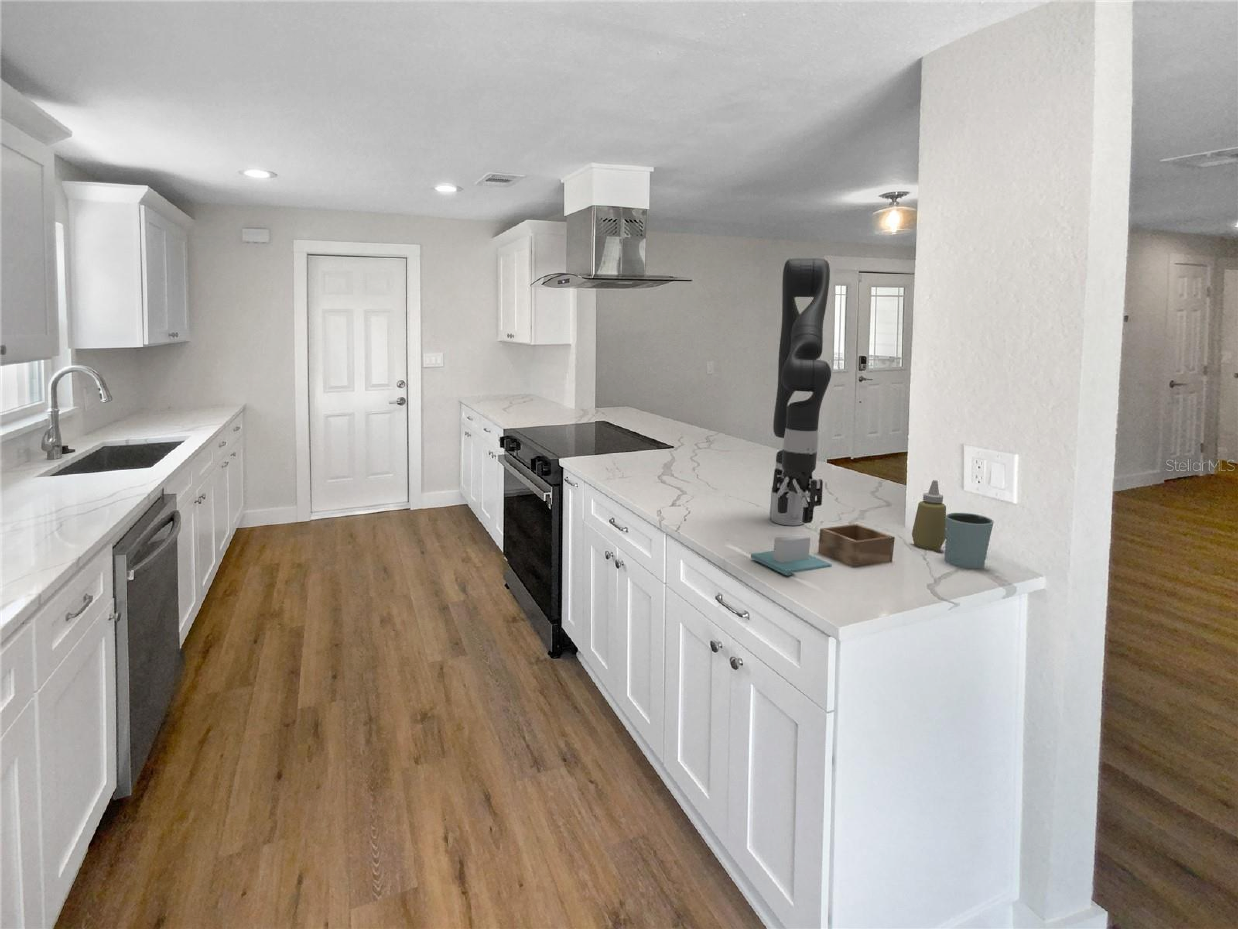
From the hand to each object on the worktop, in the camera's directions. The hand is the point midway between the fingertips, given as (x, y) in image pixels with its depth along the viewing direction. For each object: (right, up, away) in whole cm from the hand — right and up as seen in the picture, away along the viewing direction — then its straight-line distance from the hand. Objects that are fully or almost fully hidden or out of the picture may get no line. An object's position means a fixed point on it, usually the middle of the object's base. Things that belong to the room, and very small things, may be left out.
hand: (794, 517), depth 165 cm
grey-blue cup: (+42, -12, +6) cm, 44 cm away
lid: (0, -12, +2) cm, 12 cm away
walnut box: (+16, -11, +7) cm, 21 cm away
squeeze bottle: (+38, -10, +18) cm, 44 cm away
